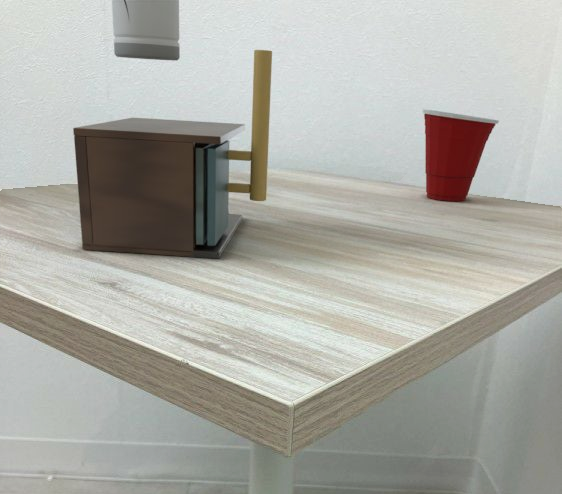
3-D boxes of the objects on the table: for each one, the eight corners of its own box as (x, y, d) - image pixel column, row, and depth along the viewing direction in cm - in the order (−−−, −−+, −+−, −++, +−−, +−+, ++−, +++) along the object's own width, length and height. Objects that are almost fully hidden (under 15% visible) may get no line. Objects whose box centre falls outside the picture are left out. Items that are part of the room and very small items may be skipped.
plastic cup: (493, 206, 91) (510, 115, 86) (417, 202, 91) (430, 111, 86) (474, 194, 101) (488, 112, 96) (405, 190, 101) (416, 108, 96)
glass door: (265, 229, 65) (273, 51, 58) (257, 248, 57) (265, 46, 50) (221, 226, 65) (223, 48, 58) (207, 245, 57) (207, 43, 50)
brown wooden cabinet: (242, 219, 73) (245, 124, 69) (219, 258, 57) (220, 136, 53) (136, 212, 74) (132, 117, 70) (82, 249, 57) (72, 127, 53)
